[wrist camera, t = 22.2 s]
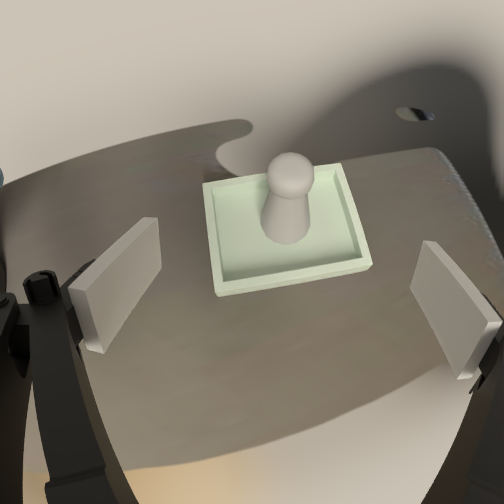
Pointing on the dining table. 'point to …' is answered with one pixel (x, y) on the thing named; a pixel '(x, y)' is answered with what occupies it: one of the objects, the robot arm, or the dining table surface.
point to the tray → (274, 254)
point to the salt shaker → (287, 198)
